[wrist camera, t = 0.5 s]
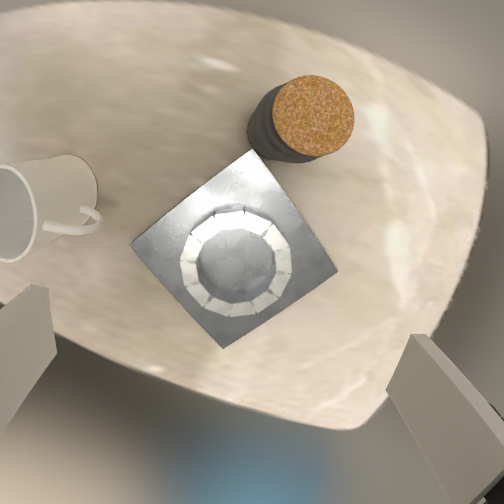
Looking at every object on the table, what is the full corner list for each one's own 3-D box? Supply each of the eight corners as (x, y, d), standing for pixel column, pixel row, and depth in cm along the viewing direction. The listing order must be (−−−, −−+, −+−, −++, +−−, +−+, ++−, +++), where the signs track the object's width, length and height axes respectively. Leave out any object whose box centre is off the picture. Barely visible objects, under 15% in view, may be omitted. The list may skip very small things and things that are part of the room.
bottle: (308, 110, 30) (369, 80, 15) (299, 164, 31) (355, 175, 17) (251, 99, 29) (270, 55, 15) (242, 155, 31) (254, 156, 16)
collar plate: (132, 242, 33) (122, 252, 29) (251, 148, 30) (254, 148, 27) (223, 344, 37) (222, 361, 34) (335, 268, 35) (345, 280, 32)
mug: (135, 181, 31) (86, 199, 19) (109, 253, 33) (60, 300, 21) (49, 144, 28) (-19, 148, 17) (29, 213, 30) (-35, 241, 19)
